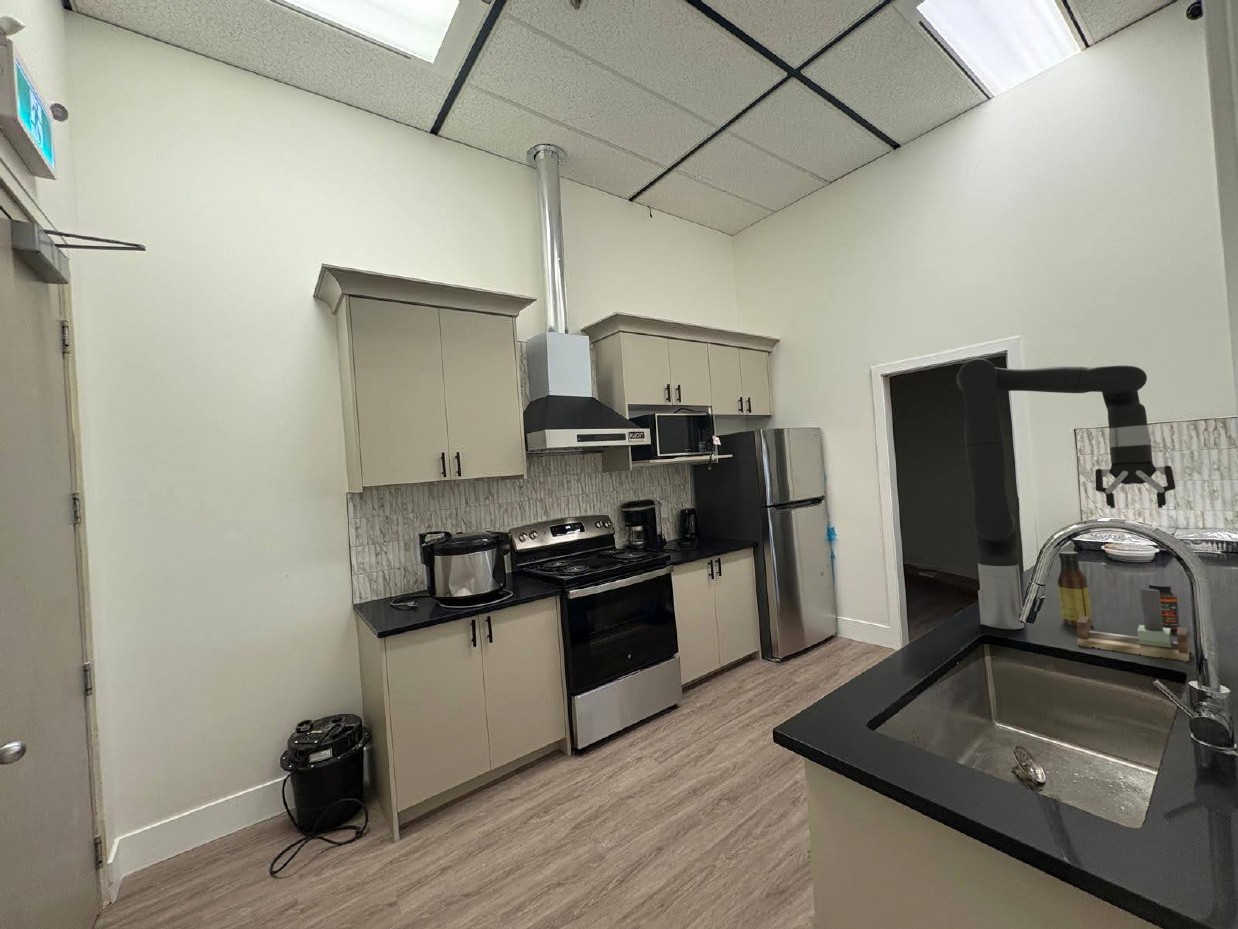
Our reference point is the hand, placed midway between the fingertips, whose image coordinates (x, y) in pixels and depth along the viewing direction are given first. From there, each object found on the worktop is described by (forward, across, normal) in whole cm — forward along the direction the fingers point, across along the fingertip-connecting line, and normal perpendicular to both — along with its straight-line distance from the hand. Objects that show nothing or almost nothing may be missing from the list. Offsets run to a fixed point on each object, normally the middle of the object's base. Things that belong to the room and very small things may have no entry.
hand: (1136, 507), depth 130 cm
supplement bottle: (+32, +2, +10) cm, 34 cm away
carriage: (+30, +2, -15) cm, 34 cm away
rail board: (+32, -2, -15) cm, 35 cm away
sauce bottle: (+32, -14, +2) cm, 35 cm away
